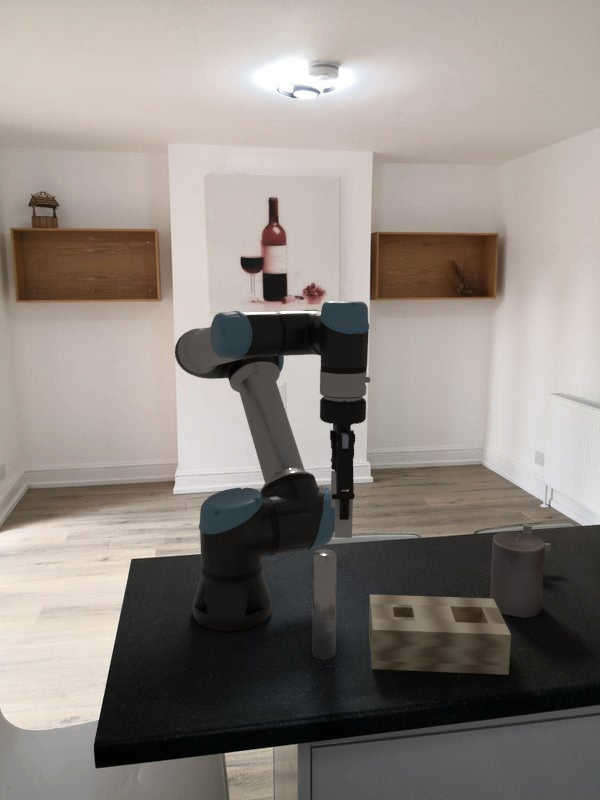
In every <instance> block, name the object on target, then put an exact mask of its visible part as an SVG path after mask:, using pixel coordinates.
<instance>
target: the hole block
mask: <svg viewBox="0 0 600 800" xmlns="http://www.w3.org/2000/svg"><path fill="white" fill-rule="evenodd" d="M368 605H369V609H368V610H369V611H368V635H369V637H368V638H369V647H370V648H369V650H370V661H371V662H370V663H371V670H385V671H386V670H388V671H389V670H390V671H408V672H409V671H410V672H411V671H413V672H414V671H415V672H434V673H435V672H436V673H437V672H439V673H456V674H457V673H459V674H460V673H461V674H464V673H465V674H485V675H505V676H506V675H509V672H510V659H511V658H510V657H511V645H512V644H511V643H512V640H511V639H512V634H511V631H510V629H509V627H508V625H507V624H506V621H505V619H504V618H503V614H501V613H500V611H499V609H498V607H497V605H496V603H495V601H494V599H490V597H489V598H488V597H487V598H483V597H461V596H460V597H459V596H458V597H457V596H455V597H454V596H430V595H429V596H426V595H422V596H421V595H402V594H401V595H398V594H395V595H394V594H369V604H368Z"/></svg>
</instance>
